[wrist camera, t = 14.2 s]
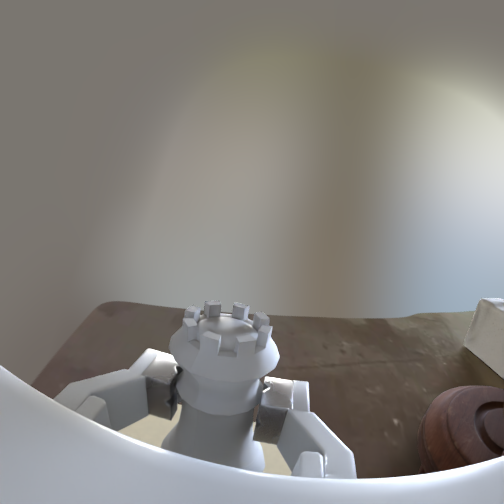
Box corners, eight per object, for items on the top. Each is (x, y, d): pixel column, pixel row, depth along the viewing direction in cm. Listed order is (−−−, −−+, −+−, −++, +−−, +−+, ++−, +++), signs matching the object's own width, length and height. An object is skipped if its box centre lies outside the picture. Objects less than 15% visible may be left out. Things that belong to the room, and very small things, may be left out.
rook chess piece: (228, 530, 7) (263, 392, 5) (138, 474, 9) (114, 314, 7) (278, 463, 11) (324, 316, 9) (198, 425, 13) (210, 279, 11)
